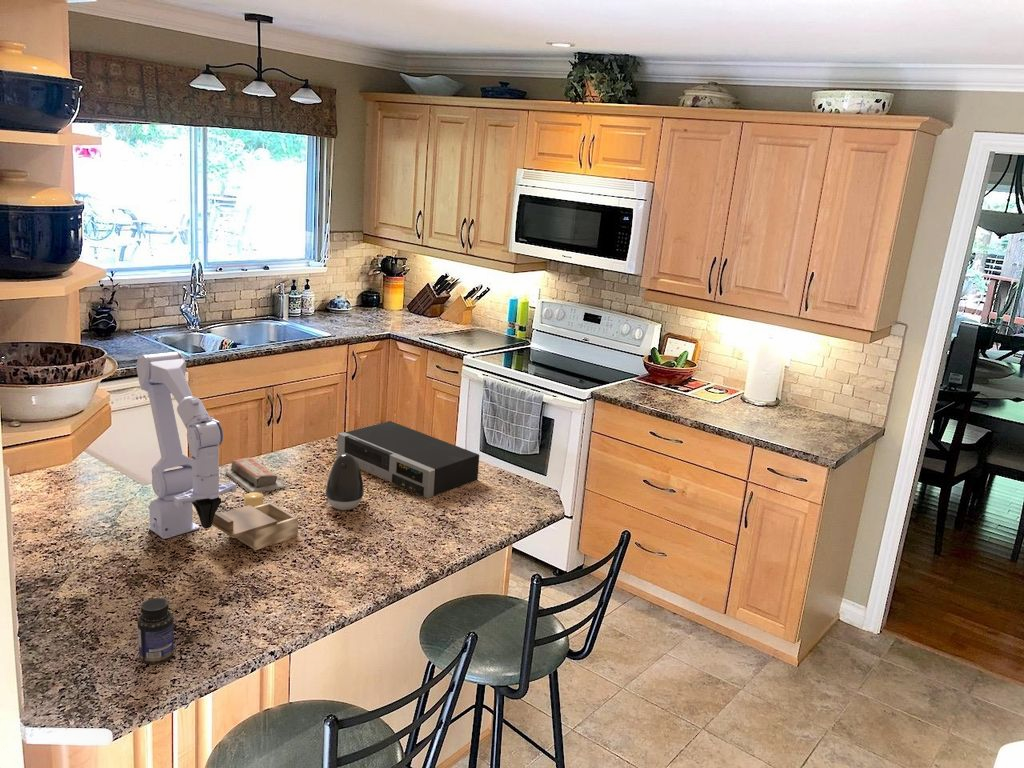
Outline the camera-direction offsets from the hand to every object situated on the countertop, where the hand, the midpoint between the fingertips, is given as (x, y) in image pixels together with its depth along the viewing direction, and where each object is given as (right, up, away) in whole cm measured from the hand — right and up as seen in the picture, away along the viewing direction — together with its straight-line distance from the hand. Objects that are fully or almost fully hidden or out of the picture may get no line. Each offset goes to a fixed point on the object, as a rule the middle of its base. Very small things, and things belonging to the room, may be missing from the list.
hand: (206, 526), depth 195 cm
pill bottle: (+5, -18, -38) cm, 42 cm away
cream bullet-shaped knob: (+4, -1, +24) cm, 24 cm away
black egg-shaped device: (+26, 0, +33) cm, 42 cm away
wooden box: (+9, -4, +13) cm, 17 cm away
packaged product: (-3, +5, +45) cm, 45 cm away
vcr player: (+38, +6, +62) cm, 73 cm away
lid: (+6, 0, +7) cm, 9 cm away
